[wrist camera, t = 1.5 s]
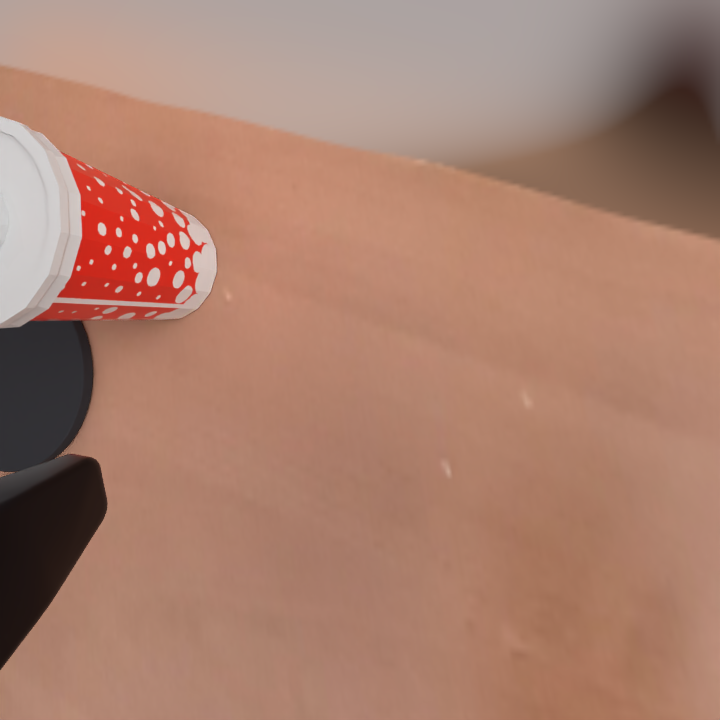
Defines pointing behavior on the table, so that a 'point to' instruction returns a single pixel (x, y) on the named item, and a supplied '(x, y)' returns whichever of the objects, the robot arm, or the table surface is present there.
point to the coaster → (42, 390)
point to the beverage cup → (90, 242)
